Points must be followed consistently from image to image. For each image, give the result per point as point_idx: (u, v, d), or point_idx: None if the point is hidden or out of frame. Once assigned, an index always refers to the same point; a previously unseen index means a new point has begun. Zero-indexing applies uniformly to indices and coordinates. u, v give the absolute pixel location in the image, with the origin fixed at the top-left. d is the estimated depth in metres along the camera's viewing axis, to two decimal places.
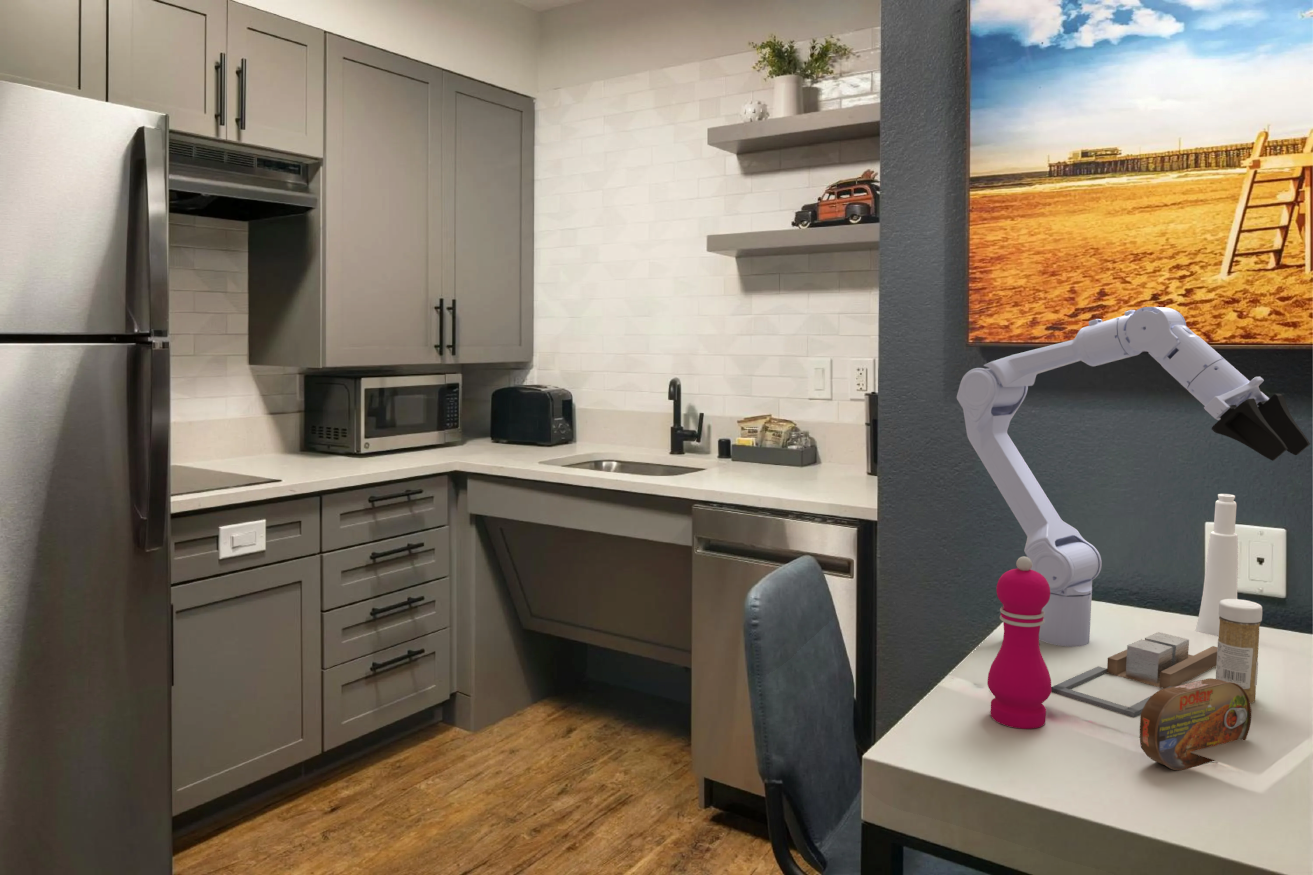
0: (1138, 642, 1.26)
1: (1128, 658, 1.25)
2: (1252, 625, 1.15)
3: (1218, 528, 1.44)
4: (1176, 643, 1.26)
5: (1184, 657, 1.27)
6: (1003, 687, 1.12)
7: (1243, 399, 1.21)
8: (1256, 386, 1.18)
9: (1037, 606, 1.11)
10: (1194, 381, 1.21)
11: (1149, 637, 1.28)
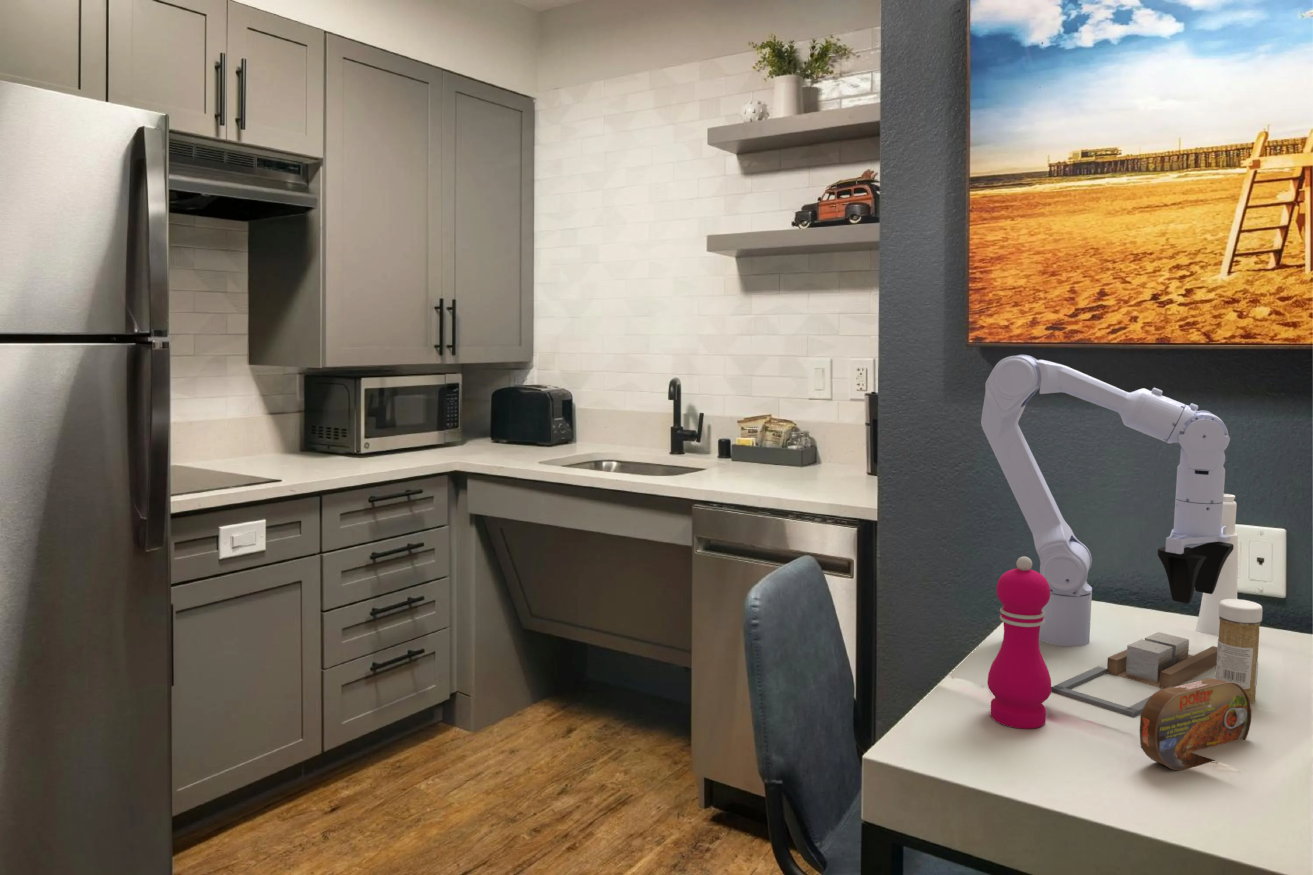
0: (1138, 642, 1.26)
1: (1128, 658, 1.25)
2: (1252, 625, 1.15)
3: None
4: (1176, 643, 1.26)
5: (1184, 657, 1.27)
6: (1003, 687, 1.12)
7: None
8: None
9: (1037, 606, 1.11)
10: (1184, 503, 1.29)
11: (1149, 637, 1.28)
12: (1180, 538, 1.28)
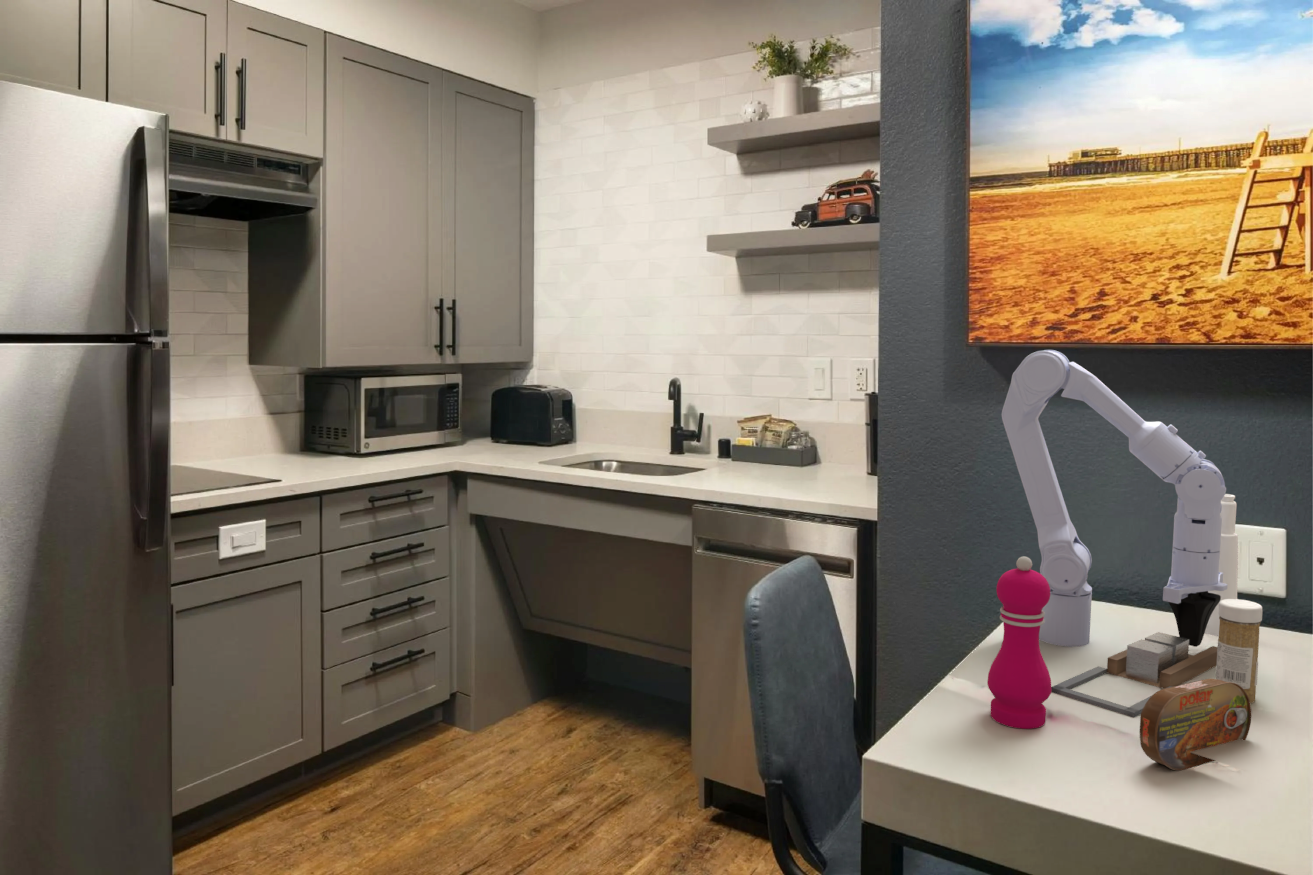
0: (1138, 642, 1.26)
1: (1128, 658, 1.25)
2: (1252, 625, 1.15)
3: None
4: (1176, 643, 1.26)
5: (1184, 657, 1.27)
6: (1003, 687, 1.12)
7: None
8: None
9: (1037, 606, 1.11)
10: (1181, 551, 1.30)
11: (1149, 637, 1.28)
12: (1177, 587, 1.28)
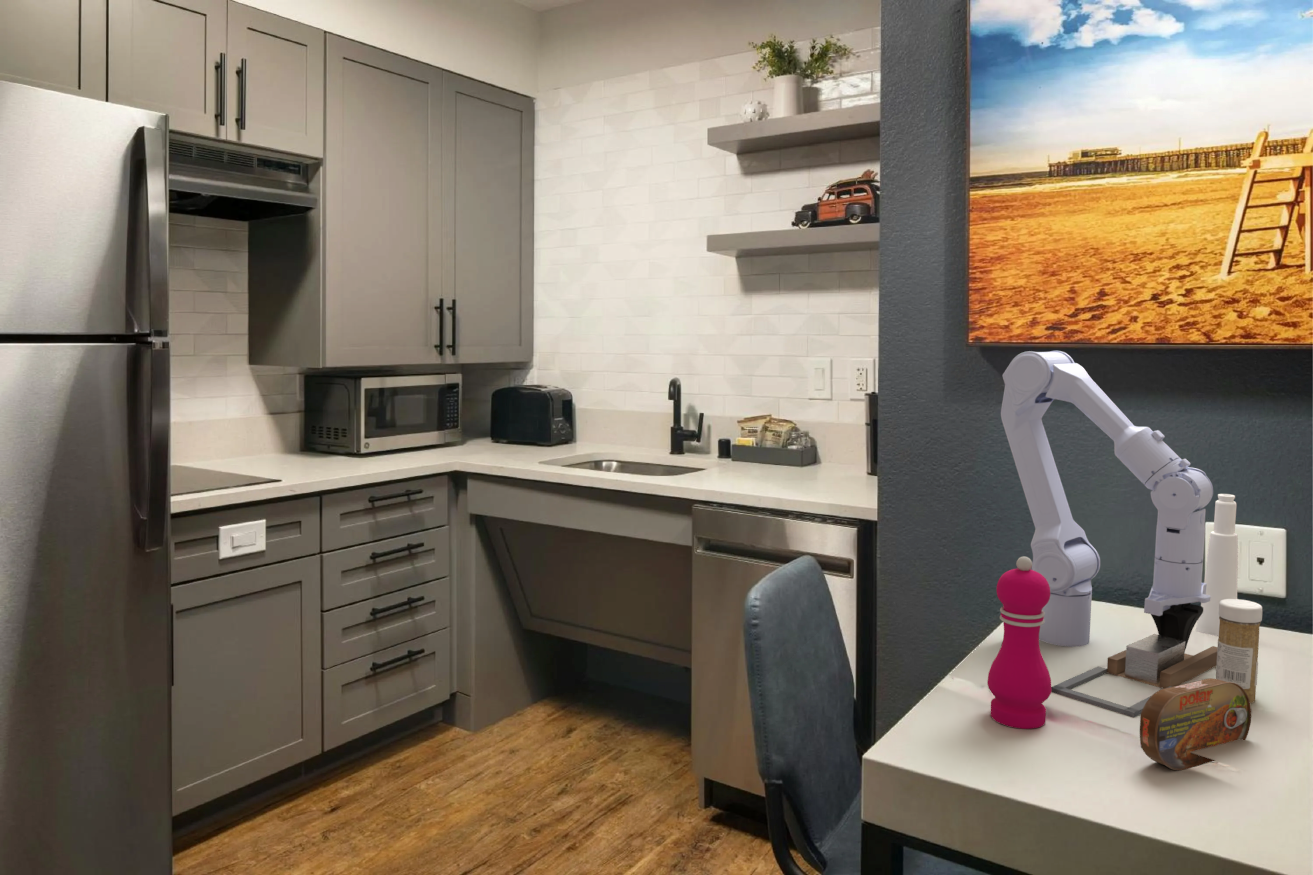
0: (1137, 642, 1.26)
1: (1127, 658, 1.25)
2: (1252, 625, 1.15)
3: (1218, 528, 1.44)
4: (1172, 645, 1.25)
5: (1180, 659, 1.26)
6: (1003, 687, 1.12)
7: None
8: None
9: (1037, 606, 1.11)
10: (1163, 562, 1.27)
11: (1145, 639, 1.28)
12: (1159, 599, 1.25)
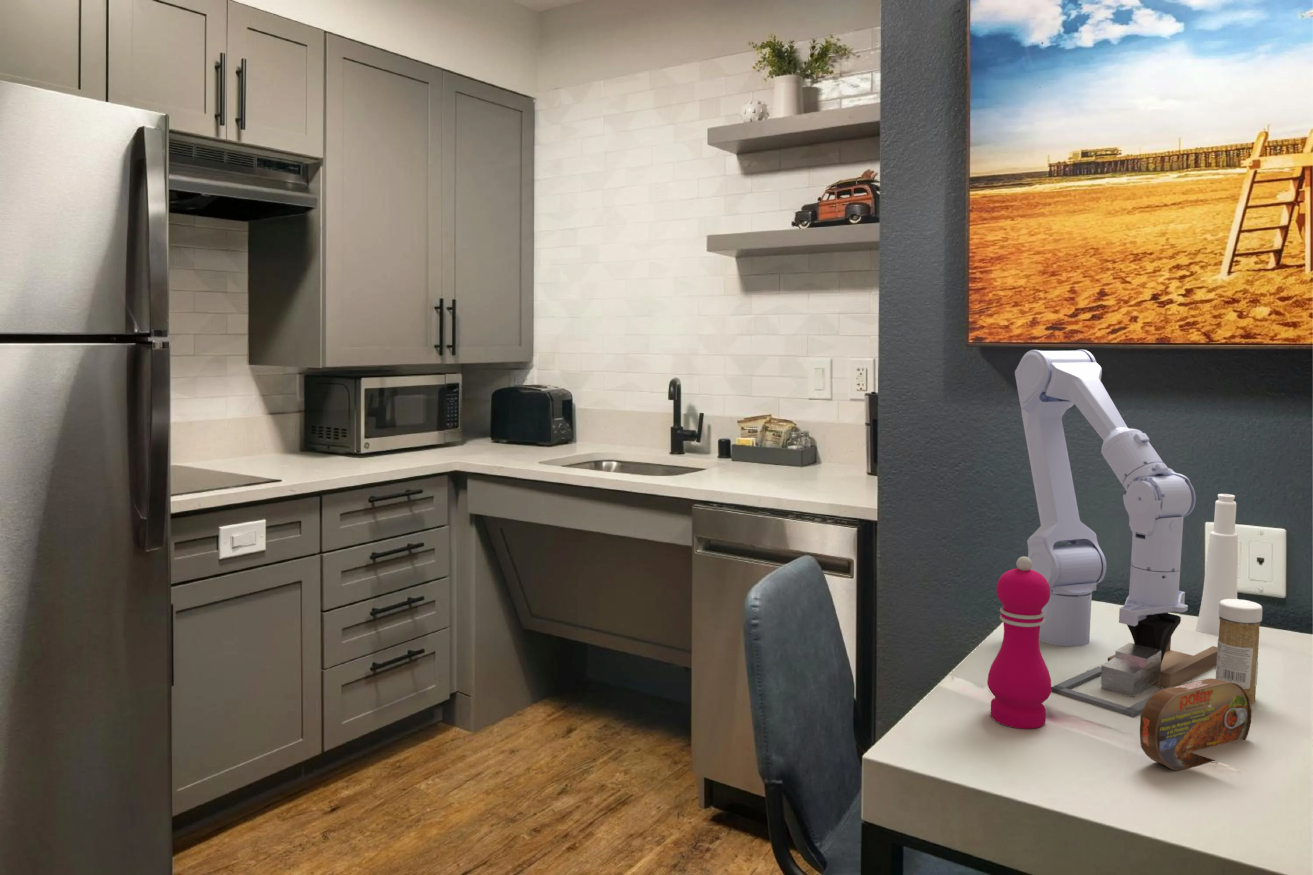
0: (1113, 660, 1.22)
1: (1102, 678, 1.21)
2: (1252, 625, 1.15)
3: (1218, 528, 1.44)
4: (1148, 656, 1.21)
5: (1156, 669, 1.22)
6: (1003, 687, 1.12)
7: None
8: None
9: (1037, 606, 1.11)
10: (1139, 570, 1.23)
11: (1120, 650, 1.23)
12: (1134, 608, 1.21)
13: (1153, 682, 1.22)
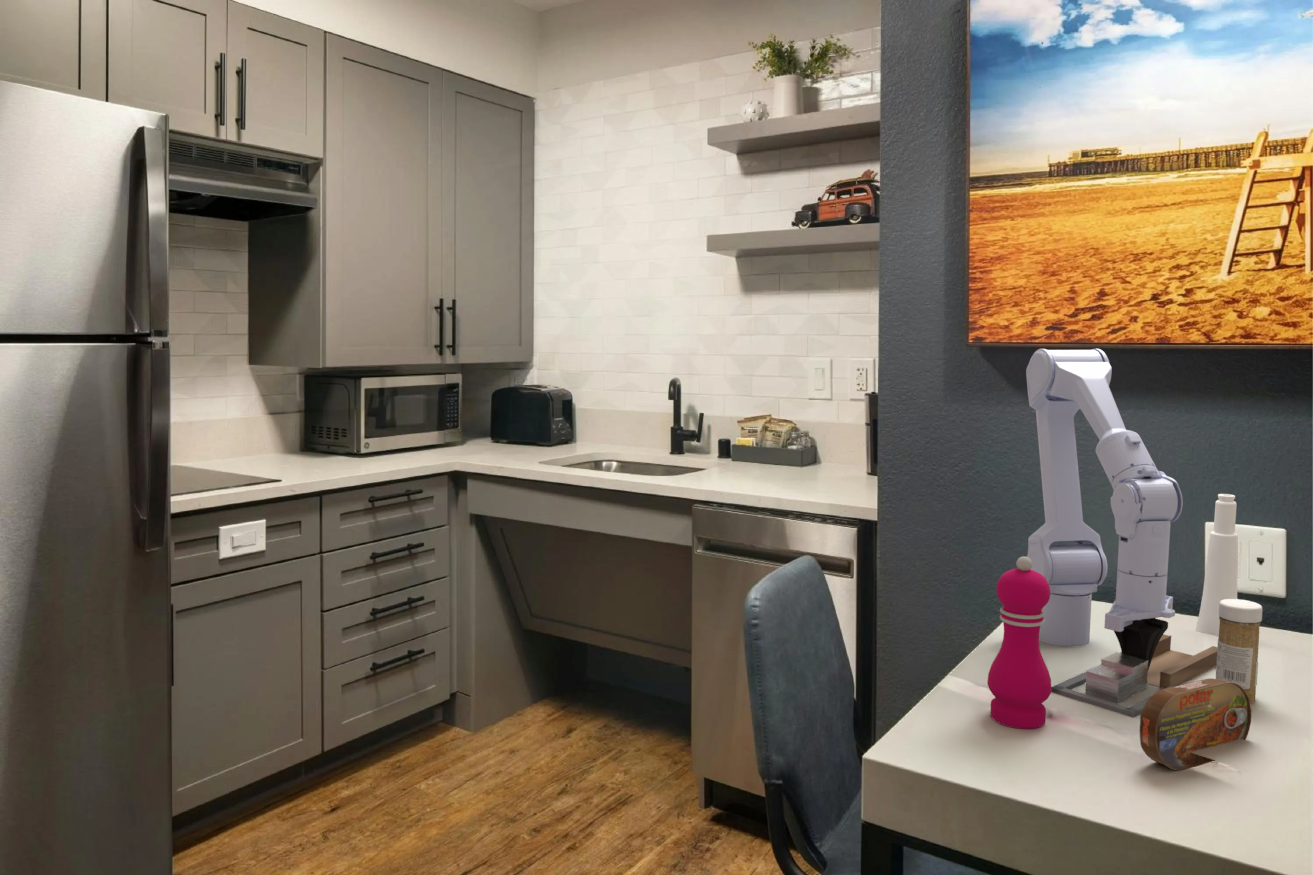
0: (1098, 667, 1.20)
1: (1087, 684, 1.18)
2: (1252, 625, 1.15)
3: (1218, 528, 1.44)
4: (1134, 665, 1.19)
5: (1142, 679, 1.20)
6: (1003, 687, 1.12)
7: None
8: None
9: (1037, 606, 1.11)
10: (1126, 575, 1.20)
11: (1106, 658, 1.21)
12: (1120, 614, 1.18)
13: (1139, 692, 1.19)
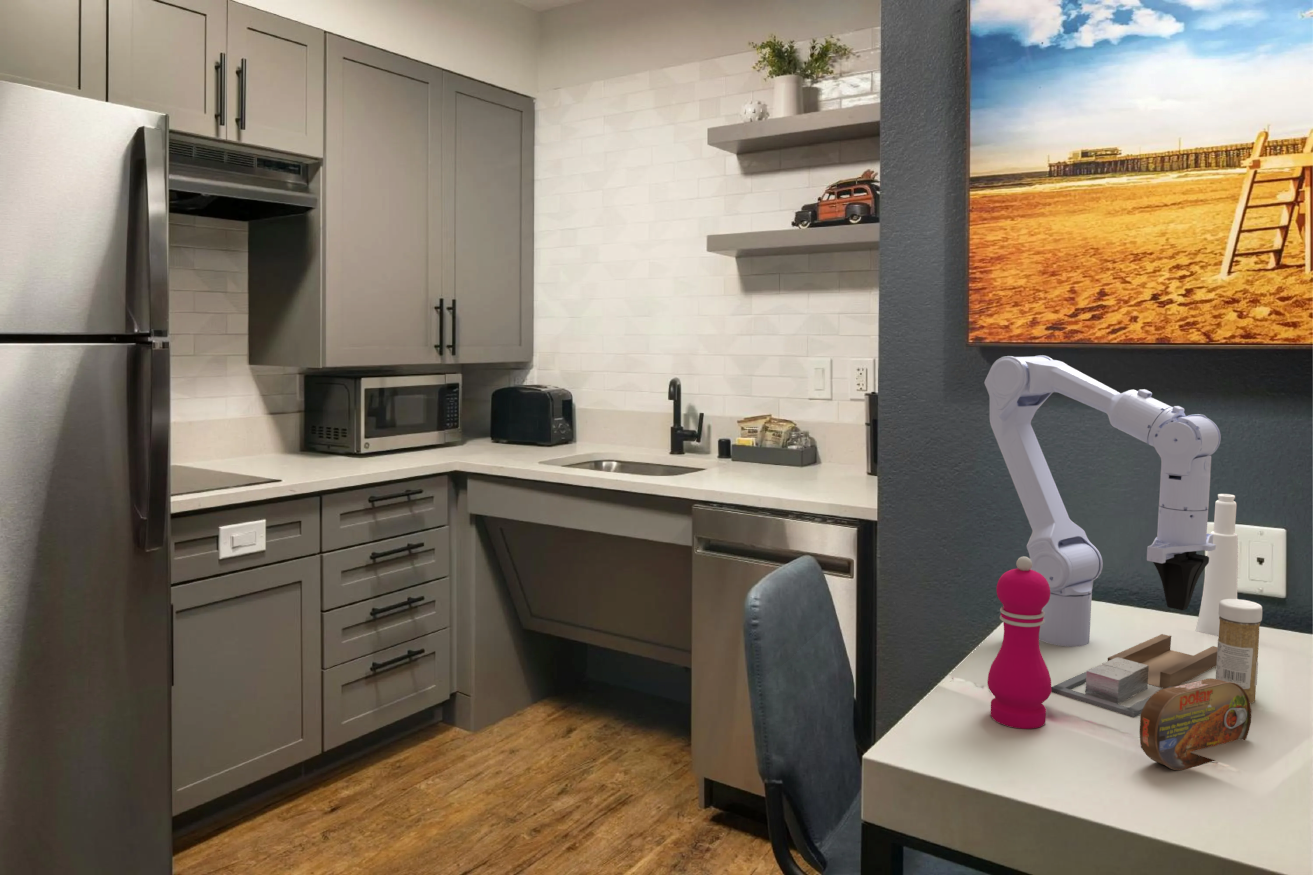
0: (1098, 667, 1.20)
1: (1087, 684, 1.18)
2: (1252, 625, 1.15)
3: (1218, 528, 1.44)
4: (1134, 669, 1.19)
5: (1143, 684, 1.20)
6: (1003, 687, 1.12)
7: None
8: None
9: (1037, 606, 1.11)
10: (1167, 510, 1.24)
11: (1106, 663, 1.21)
12: (1162, 547, 1.22)
13: None
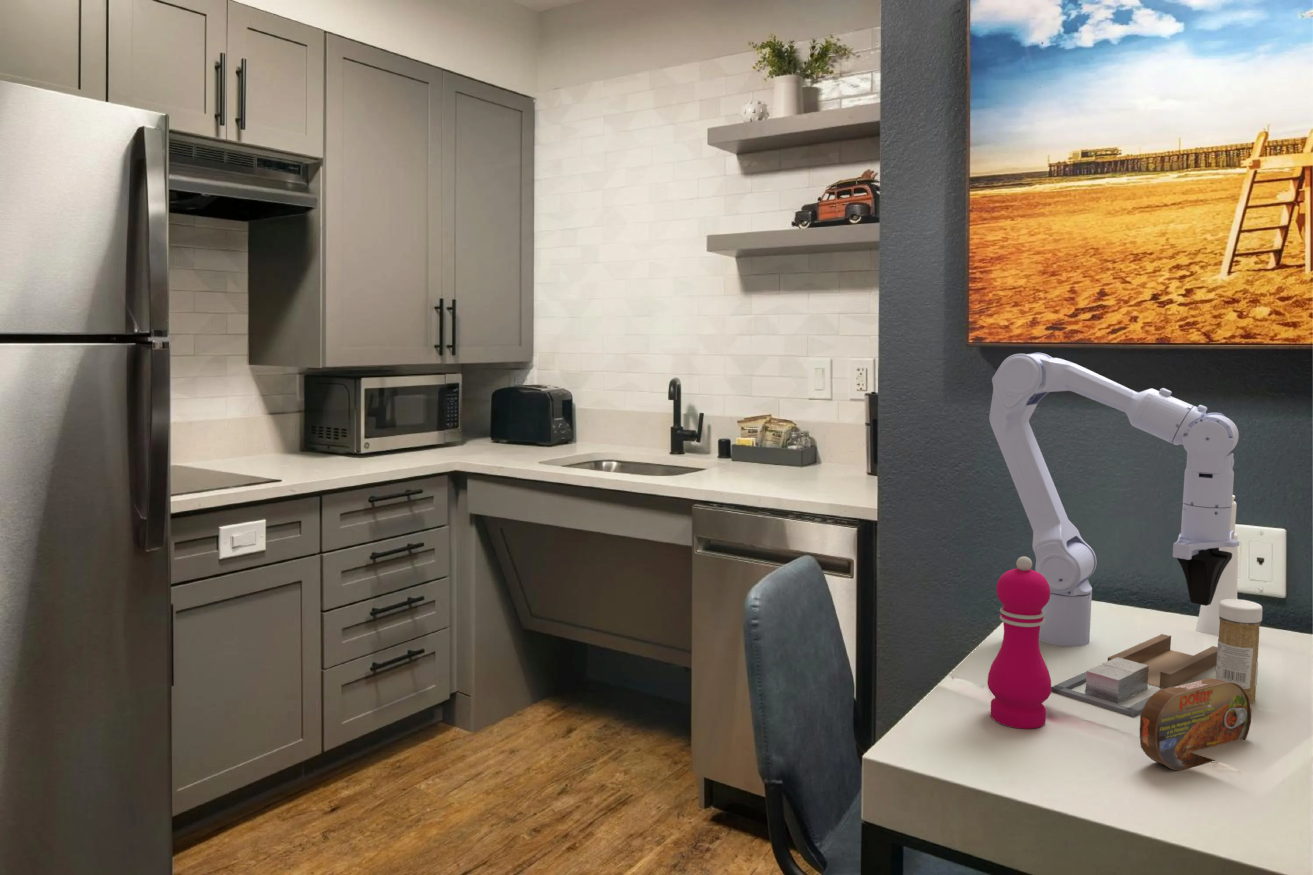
0: (1098, 667, 1.20)
1: (1087, 684, 1.18)
2: (1252, 625, 1.15)
3: None
4: (1134, 669, 1.19)
5: (1143, 684, 1.20)
6: (1003, 687, 1.12)
7: None
8: None
9: (1037, 606, 1.11)
10: (1192, 507, 1.26)
11: (1106, 663, 1.21)
12: (1188, 543, 1.24)
13: None
